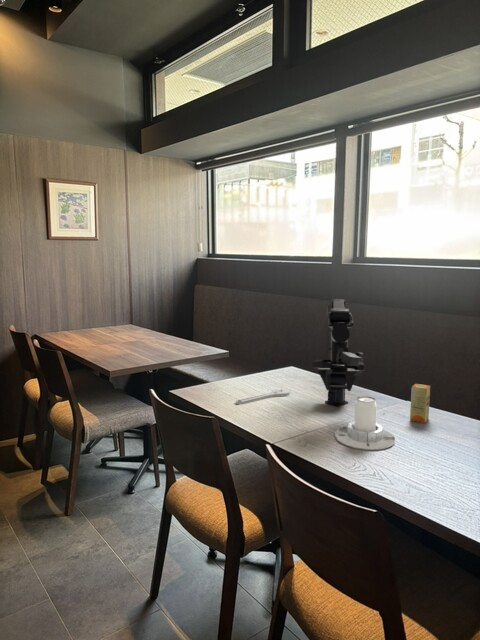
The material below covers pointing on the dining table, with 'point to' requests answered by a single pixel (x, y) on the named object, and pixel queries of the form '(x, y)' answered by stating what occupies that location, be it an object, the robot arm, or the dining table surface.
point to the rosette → (365, 438)
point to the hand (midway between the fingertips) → (338, 390)
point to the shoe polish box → (420, 403)
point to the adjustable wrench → (264, 396)
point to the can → (365, 414)
